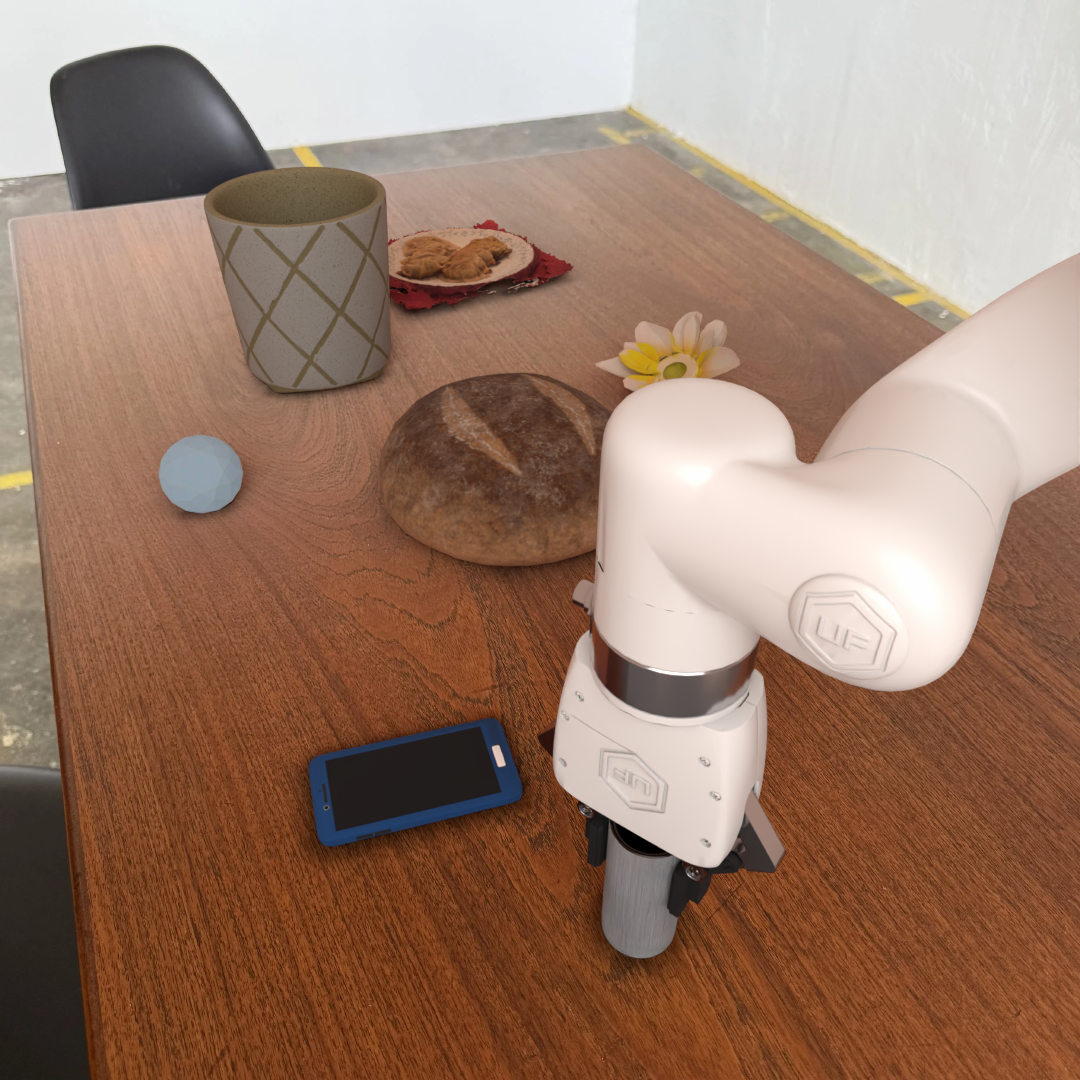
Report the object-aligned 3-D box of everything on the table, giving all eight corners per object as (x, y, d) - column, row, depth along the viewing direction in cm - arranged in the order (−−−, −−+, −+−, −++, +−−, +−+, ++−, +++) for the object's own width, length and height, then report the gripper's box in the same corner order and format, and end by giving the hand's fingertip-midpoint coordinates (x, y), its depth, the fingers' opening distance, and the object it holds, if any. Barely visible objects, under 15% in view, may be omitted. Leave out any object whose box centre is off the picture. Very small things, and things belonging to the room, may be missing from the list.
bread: (439, 615, 81) (431, 521, 74) (348, 455, 99) (335, 370, 93) (703, 534, 89) (715, 444, 83) (573, 402, 108) (575, 320, 102)
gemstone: (161, 443, 95) (155, 432, 90) (243, 442, 97) (241, 431, 92) (164, 520, 94) (158, 513, 90) (246, 518, 96) (244, 510, 92)
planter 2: (665, 970, 57) (681, 869, 50) (591, 944, 58) (598, 842, 51) (683, 904, 60) (701, 801, 54) (613, 881, 61) (622, 778, 55)
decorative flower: (576, 364, 111) (600, 283, 106) (654, 364, 117) (681, 287, 111) (642, 434, 102) (673, 349, 96) (724, 430, 107) (758, 350, 102)
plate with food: (575, 280, 135) (576, 256, 133) (410, 317, 124) (408, 292, 122) (491, 229, 151) (490, 207, 149) (337, 258, 140) (335, 235, 138)
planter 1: (417, 386, 111) (403, 214, 98) (247, 414, 106) (210, 236, 93) (382, 317, 125) (366, 159, 113) (231, 339, 120) (197, 175, 108)
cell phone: (526, 800, 66) (526, 793, 65) (319, 850, 63) (318, 844, 62) (498, 721, 71) (498, 714, 71) (307, 764, 68) (306, 757, 68)
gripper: (477, 615, 46) (488, 843, 57) (815, 786, 38) (750, 1011, 49) (566, 535, 50) (560, 761, 62) (882, 673, 43) (809, 901, 54)
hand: (645, 869), depth 55 cm, fingers closed on planter 2, 4 cm apart
